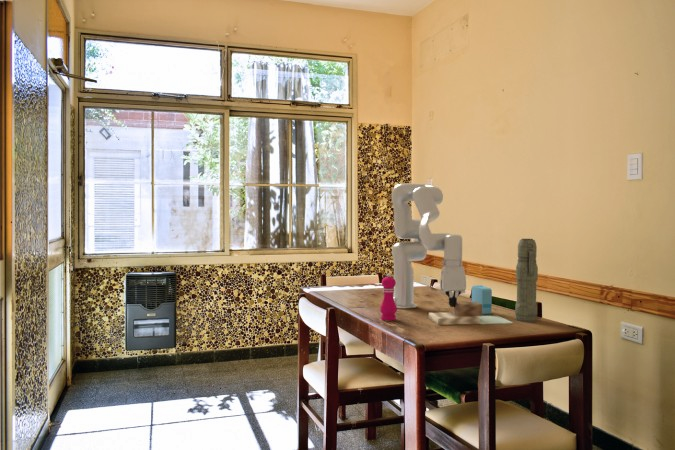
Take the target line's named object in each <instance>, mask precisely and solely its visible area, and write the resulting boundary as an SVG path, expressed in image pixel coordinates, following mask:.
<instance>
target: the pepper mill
mask: <svg viewBox="0 0 675 450" xmlns="http://www.w3.org/2000/svg"><path fill="white" fill-rule="evenodd" d="M395 285H396V282H395V279H394V277H392V276H391V273H389V272H388V273H387V274H386V276H385V277H383V278H382V279H381V286H382V292H383V298H382V299H383V300H382V302H381V304H380V309H379V311H380V313H381V317H380V318H381V319H380V320H381V321H384V320H388V321H387V322H391V320H394V321H396V319H397V318H396V317H397V316H396V313H397V312H398V308H397V307H396V304H395V301H394V298H393V296H394V286H395Z"/></svg>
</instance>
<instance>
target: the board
mask: <svg viewBox="0 0 675 450" xmlns="http://www.w3.org/2000/svg"><path fill="white" fill-rule="evenodd" d="M428 319H429V320H430V321H432V322H433V323H435V324H436V325H438V326H440V325H442V326H443V325H446V326H447V325H481V324H480V318H479V317H477V316H466V317H459V316H457V315H455V314H454V311H453V312H447V311H446V312H445V311H444V312H428Z"/></svg>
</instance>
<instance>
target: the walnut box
mask: <svg viewBox="0 0 675 450" xmlns="http://www.w3.org/2000/svg"><path fill="white" fill-rule="evenodd" d="M453 308H454V311H453V312H454V314H455V315H457V316H459V317H466V316H483V315H482V304H480V303H478V302H472V301H460V302H459V301H457V305H456V307H453Z"/></svg>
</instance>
